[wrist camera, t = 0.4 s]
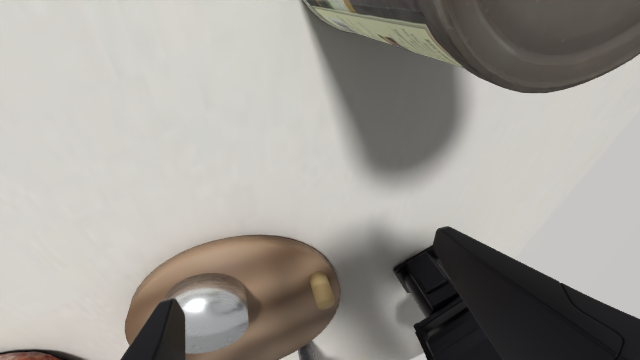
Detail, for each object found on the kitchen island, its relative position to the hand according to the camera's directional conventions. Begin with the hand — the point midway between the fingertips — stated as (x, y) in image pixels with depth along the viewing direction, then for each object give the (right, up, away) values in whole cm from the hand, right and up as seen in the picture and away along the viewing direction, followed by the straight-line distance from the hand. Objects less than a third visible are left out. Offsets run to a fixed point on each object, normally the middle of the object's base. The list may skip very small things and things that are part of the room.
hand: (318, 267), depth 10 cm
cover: (-10, -8, +17) cm, 21 cm away
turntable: (-8, -10, +22) cm, 25 cm away
